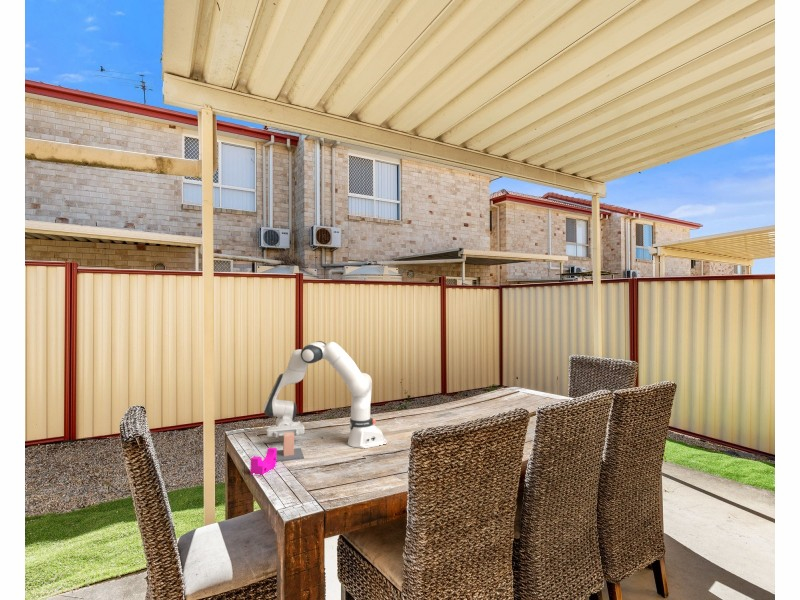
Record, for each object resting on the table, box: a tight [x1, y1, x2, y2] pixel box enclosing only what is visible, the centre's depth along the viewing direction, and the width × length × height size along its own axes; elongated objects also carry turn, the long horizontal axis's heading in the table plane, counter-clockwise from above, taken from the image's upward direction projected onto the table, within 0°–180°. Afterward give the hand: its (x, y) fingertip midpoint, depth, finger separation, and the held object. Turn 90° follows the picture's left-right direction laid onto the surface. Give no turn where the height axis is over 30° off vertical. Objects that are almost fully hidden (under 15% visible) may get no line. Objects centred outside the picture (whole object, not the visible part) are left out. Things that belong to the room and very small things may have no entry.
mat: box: [276, 447, 305, 462], centre depth 204 cm, size 14×14×1 cm
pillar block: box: [282, 433, 295, 456], centre depth 204 cm, size 5×5×10 cm
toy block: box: [250, 447, 278, 476], centre depth 186 cm, size 15×6×8 cm, turn 164°
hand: (286, 435), depth 212 cm, fingers open, 8 cm apart
